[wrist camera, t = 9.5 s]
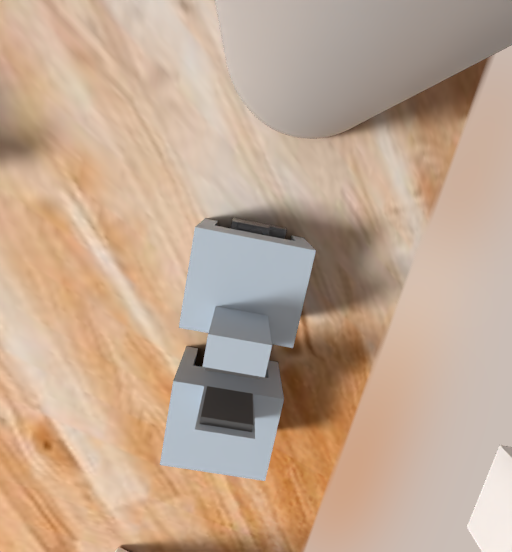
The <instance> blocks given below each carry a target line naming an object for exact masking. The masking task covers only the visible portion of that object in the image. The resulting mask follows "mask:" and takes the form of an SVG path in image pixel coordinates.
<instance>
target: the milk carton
mask: <svg viewBox="0 0 512 552" xmlns="http://www.w3.org/2000/svg"><path fill="white" fill-rule="evenodd" d="M115 552H128V551H126V550H124V549H122V548H120V547H118V548H117V549H116V551H115Z"/></svg>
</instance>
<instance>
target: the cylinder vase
mask: <svg viewBox="0 0 512 552" xmlns="http://www.w3.org/2000/svg"><path fill="white" fill-rule="evenodd" d="M215 4H216V10H217V15H218V20H219V26H220V31H221V36H222V42H223V47H224V52H225V58H226V63H227V67H228V71H229V75H230V78H231V80H232V83H233V85H234V87H235V89H236V91H237V93H238V95H239V97H240V98H241V100H242V101H243V103H244V104H245V105H246V107H247V108H248V109H249V110H250V111H251V112H252V113H253V114H254V115H255V116H256V117H257V118H258V119H259V120H260V121H262V122H263V123H264V124H266V125H267V126H269V127H271V128H272V129H274V130H276V131H278V132H281V133H283V134H286V135H289V136H293V137H298V138H308V139H314V138H324V137H329V136H333V135H337V134H339V133H342V132H344V131H347V130H349V129H351V128H353V127H355V126H356V125H358V124H360V123H362V122H364V121H366V120H368V119H370V118H372V117H374V116H376V115H378V114H380V113H382V112H383V111H385V110H387V109H389V108H391V107H393V106H395V105H397V104H399V103H401V102H403V101H405V100H407V99H409V98H411V97H412V96H414V95H416V94H418V93H420V92H422V91H424V90H426V89H428V88H430V87H432V86H434V85H436V84H438V83H439V82H441V81H443V80H445V79H447V78H449V77H451V76H453V75H455V74H457V73H459V72H461V71H463V70H465V69H466V68H468V67H470V66H472V65H474V64H476V63H478V62H480V61H482V60H484V59H486V58H488V57H490V56H492V55H494V54H495V53H497V52H499V51H501V50H503V49H505V48H507V47H509V46H511V45H512V0H215Z"/></svg>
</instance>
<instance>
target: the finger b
mask: <svg viewBox="0 0 512 552" xmlns="http://www.w3.org/2000/svg"><path fill="white" fill-rule="evenodd" d="M217 222H218V221H215V220H210V219H204V220H203V221H202V222H201V223H199V224H198V225H197V226H196V227H195V231H194V238H193V244H192V250H191V256H190V262H189V268H188V275H187V281H186V287H185V293H184V299H183V305H182V312H181V318H180V324H179V328H183V329H189V330H195V331H200V332H206V333H208V338H207V344H206V349H205V355H204V360H203V366H202V367H206V370H207V371H212V372H218V373H224V374H230V375H236V376H241V377H247V378H253V379H260V377H265V375H266V370H267V366H268V361H269V357H270V352H271V348H272V344H273V345H279V346H285V347H290V348H293V346H294V341H295V337H296V333H297V329H298V325H299V320H300V316H301V312H302V308H303V303H304V299H305V295H306V291H307V286H308V282H309V278H310V274H311V270H312V265H313V261H314V257H315V253H316V250H315V249H314V248H313V247H312V246H311V245H310V244H309V243H308V242H307V241H306V240H305V239H304V238H302V237H297V236H292V235H291V240H287V239H282V238H276V237H271V236H266V235H261V234H256V233H251V232H246V231H241V230H235V229H230V228H225V227H220V226H217Z"/></svg>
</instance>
